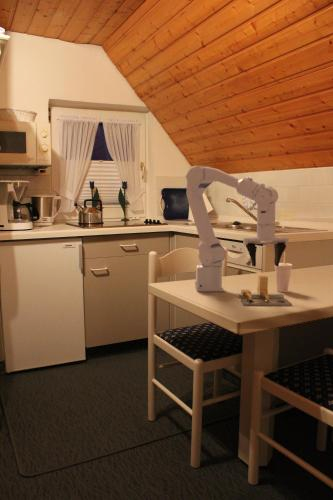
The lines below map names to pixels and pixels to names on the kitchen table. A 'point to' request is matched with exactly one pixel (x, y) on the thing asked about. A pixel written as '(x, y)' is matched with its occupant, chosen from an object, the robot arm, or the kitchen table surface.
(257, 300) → the flange plate
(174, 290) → the kitchen table surface
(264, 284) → the orange block with stem
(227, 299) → the kitchen table surface
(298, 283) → the kitchen table surface
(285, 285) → the smoothie
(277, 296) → the dividers bar
